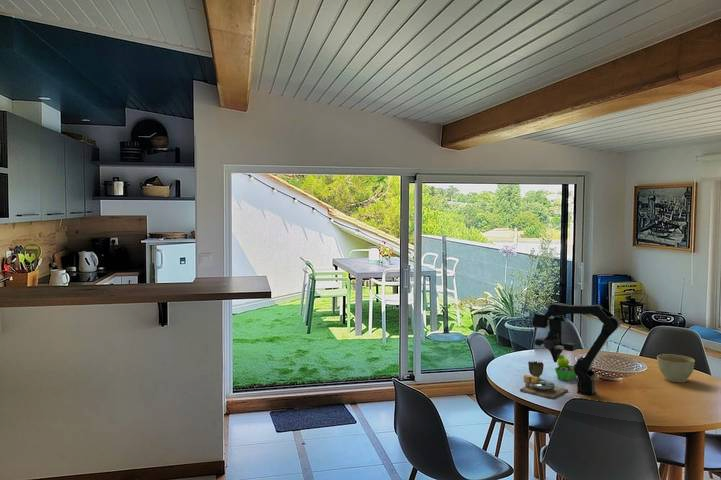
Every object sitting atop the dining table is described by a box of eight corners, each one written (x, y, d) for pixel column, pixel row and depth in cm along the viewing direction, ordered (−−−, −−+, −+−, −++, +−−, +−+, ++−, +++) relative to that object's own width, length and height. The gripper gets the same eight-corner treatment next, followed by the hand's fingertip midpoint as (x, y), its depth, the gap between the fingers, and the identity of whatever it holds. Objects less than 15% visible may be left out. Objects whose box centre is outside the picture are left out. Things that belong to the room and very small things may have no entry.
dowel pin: (530, 386, 251) (530, 376, 251) (528, 387, 250) (528, 377, 250) (526, 385, 252) (526, 375, 252) (524, 386, 251) (524, 376, 251)
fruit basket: (568, 382, 261) (568, 359, 261) (551, 377, 268) (551, 355, 268) (580, 377, 269) (580, 355, 268) (563, 373, 275) (563, 352, 275)
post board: (567, 391, 247) (567, 381, 247) (552, 399, 237) (552, 389, 237) (535, 383, 259) (535, 374, 259) (520, 390, 248) (520, 381, 248)
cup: (544, 381, 263) (544, 365, 262) (529, 380, 264) (529, 364, 264) (542, 376, 270) (542, 361, 270) (527, 375, 272) (527, 360, 271)
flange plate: (558, 386, 247) (558, 379, 247) (548, 391, 240) (548, 383, 240) (529, 379, 258) (529, 372, 257) (519, 384, 251) (519, 377, 250)
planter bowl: (657, 373, 275) (657, 352, 274) (694, 378, 266) (694, 356, 266) (655, 381, 261) (656, 359, 260) (694, 387, 253) (695, 364, 252)
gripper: (529, 329, 254) (528, 361, 254) (567, 335, 240) (567, 369, 241) (540, 325, 261) (540, 357, 262) (577, 331, 248) (577, 364, 249)
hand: (555, 362), depth 253 cm, fingers closed
